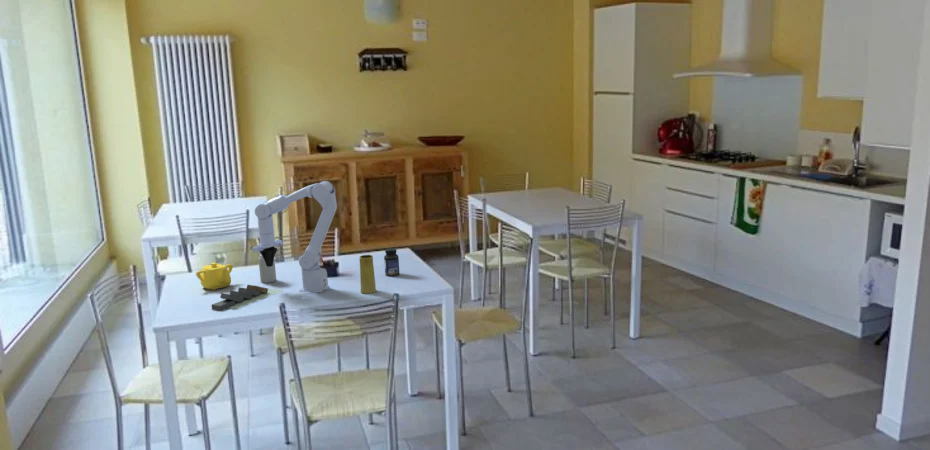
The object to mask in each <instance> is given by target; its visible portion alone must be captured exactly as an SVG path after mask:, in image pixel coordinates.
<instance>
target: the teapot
mask: <svg viewBox="0 0 930 450" xmlns="http://www.w3.org/2000/svg"><path fill="white" fill-rule="evenodd" d="M232 270H233V264H231V263H230V264H225V265H224V264H220V263H217V262H211V263H210V264H205V265H204V266H202V268H201V270H197V271H196V272H195V275H196V277H197V279H198V280H199V281H200V285H201V286H202V287H203V288H205V289H207V290H211V291H216V290H217V289H221V288H227V287H228V286H230V285H231V283H232V278H231V272H232Z"/></svg>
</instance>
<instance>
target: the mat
mask: <svg viewBox="0 0 930 450" xmlns="http://www.w3.org/2000/svg"><path fill="white" fill-rule="evenodd" d="M266 288H267V289H268V292H267V293H262V292H260V294H259V296H254V295H252V297H251V299H247V298H243V301H242V303H241V302H235V301H234V302H235V305H234V306H232V307H229V308H228V309H232V310H233V309H235V310H237V309H239V308H241V307H242V308H243V307H245V306H248V305H250V304H254V303H256V302H257V301H261V300H263V299H266V298H268V297H270V296H273V295H276V294H279V293H281V292H283V290H282V289H275V288H268V287H266Z"/></svg>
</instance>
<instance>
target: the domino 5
mask: <svg viewBox="0 0 930 450" xmlns="http://www.w3.org/2000/svg"><path fill="white" fill-rule="evenodd" d="M246 288H247V289H251V290H255V291H259V292H262V293H267V292H268V289H269V288H268V287H263V286H259V285H252V284H247V285H246ZM267 288H268V289H267Z"/></svg>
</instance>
